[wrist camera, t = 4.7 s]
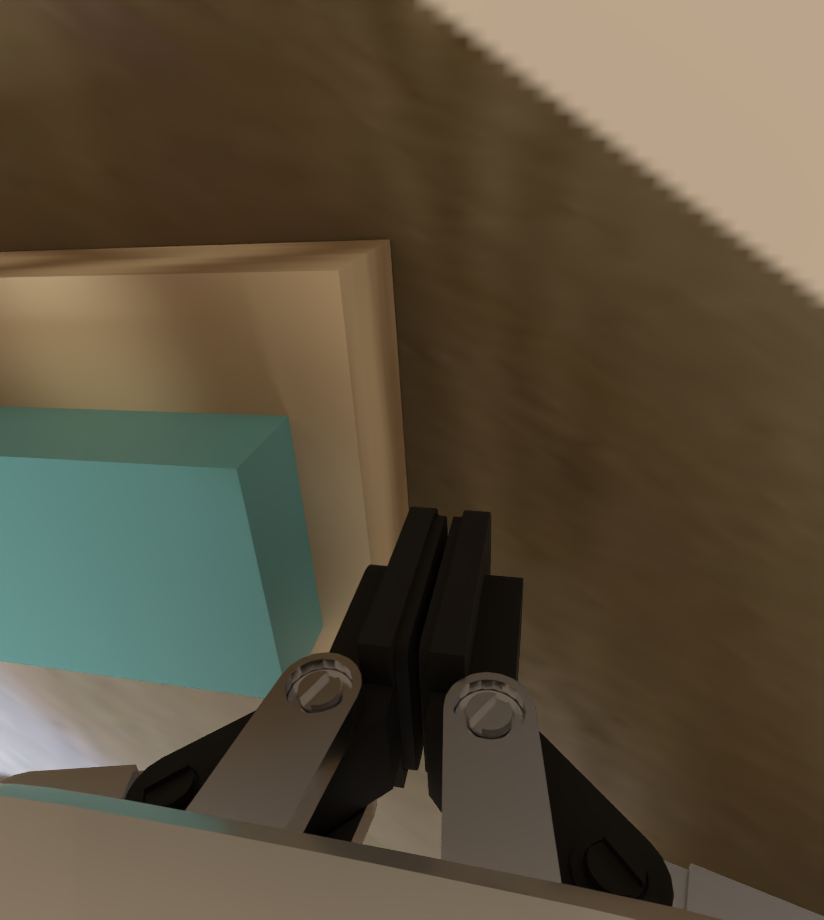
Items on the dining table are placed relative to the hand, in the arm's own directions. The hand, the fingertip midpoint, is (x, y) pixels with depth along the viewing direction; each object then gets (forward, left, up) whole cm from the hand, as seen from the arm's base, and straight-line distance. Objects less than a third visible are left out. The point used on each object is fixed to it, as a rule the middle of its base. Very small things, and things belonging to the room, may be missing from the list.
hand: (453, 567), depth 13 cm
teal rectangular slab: (+8, 0, -1) cm, 8 cm away
